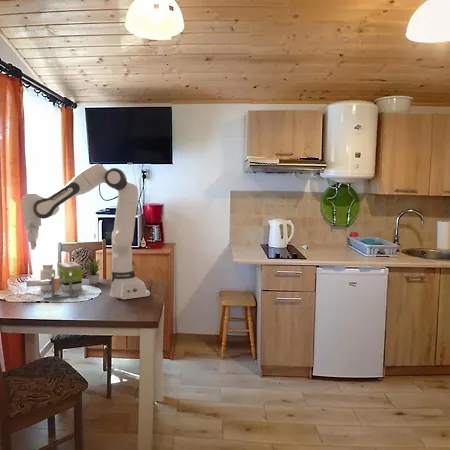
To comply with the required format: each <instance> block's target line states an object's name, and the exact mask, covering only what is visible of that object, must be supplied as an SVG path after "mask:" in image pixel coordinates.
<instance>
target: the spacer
mask: <svg viewBox="0 0 450 450" xmlns="http://www.w3.org/2000/svg"><path fill="white" fill-rule="evenodd" d="M60 289H61V287H60V285H59V276H58V275H55V276H54V291H55V292H60Z"/></svg>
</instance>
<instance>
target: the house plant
mask: <svg viewBox="0 0 450 450" xmlns="http://www.w3.org/2000/svg"><path fill="white" fill-rule="evenodd" d="M88 262H89V263H87V262H84V264H86V265H87V266H82V265H81V268H83V272H85V271H88V272H89V273H87V278H88V283H89V284H90V285H94V284H95V285H96V284H99V279H100V273H98V272H99V270H101V269H102V270H103V269H104V267H103V268H100V267H99V266H101V264H102V262H101V258H99V259H97V260H96V259H95V258H94V259H93V261H91V260H90V259H88Z"/></svg>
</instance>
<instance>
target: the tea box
mask: <svg viewBox="0 0 450 450" xmlns="http://www.w3.org/2000/svg"><path fill="white" fill-rule="evenodd" d="M56 266H57V268H56V269H57V276H59V279H63V284H62V285H60V289H62V290H63V292H70V288H69V273H72V291H78V290H82V289H83V283H82V282H83V281H82V280H83V277H82V276H83V275H82V273H83V272H82V271H83V270H82V269H83V268H82V264H79V263H77V262H75V261H67V262H57V263H56Z"/></svg>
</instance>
